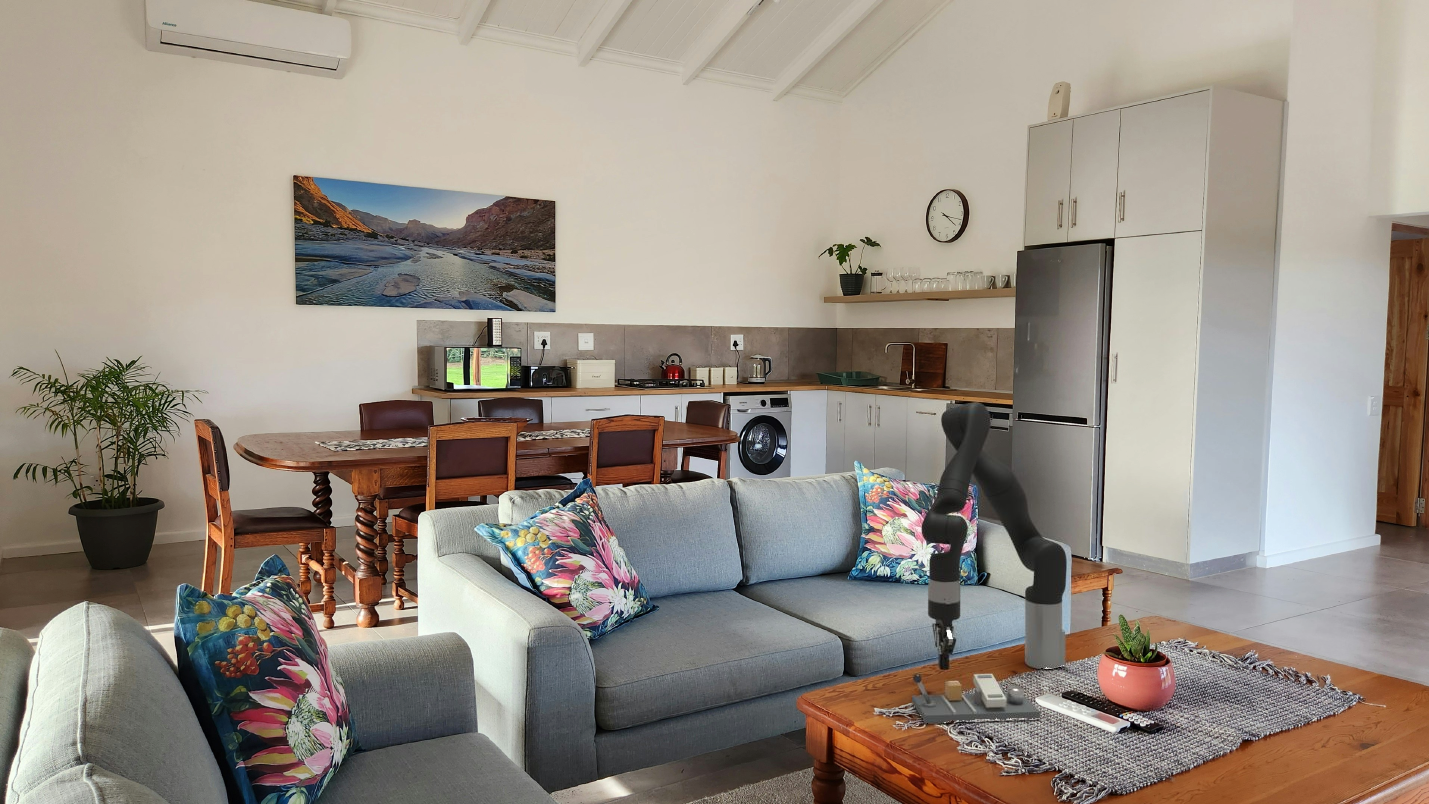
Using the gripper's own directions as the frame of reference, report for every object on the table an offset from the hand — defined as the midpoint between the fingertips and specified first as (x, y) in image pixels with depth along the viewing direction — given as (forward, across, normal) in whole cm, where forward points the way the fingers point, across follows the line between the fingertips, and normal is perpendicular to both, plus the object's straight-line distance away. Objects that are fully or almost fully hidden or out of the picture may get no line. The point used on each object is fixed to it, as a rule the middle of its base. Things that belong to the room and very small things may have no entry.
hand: (943, 668), depth 225 cm
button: (+5, +9, +14) cm, 18 cm away
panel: (+7, +9, +5) cm, 13 cm away
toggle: (+5, +9, -6) cm, 12 cm away
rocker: (+2, +9, +8) cm, 12 cm away
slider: (+5, +6, +1) cm, 8 cm away
